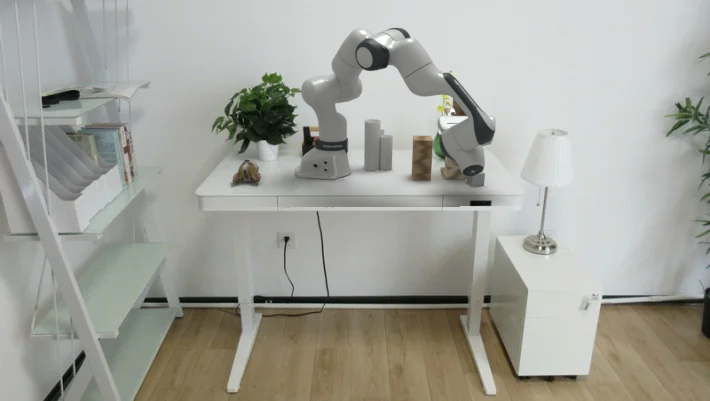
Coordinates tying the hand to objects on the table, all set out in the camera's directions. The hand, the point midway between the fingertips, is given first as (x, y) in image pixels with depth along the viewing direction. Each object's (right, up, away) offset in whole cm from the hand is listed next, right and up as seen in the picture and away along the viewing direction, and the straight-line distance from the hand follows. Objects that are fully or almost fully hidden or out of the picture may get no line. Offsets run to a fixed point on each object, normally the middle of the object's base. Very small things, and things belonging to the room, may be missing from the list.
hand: (464, 110), depth 200 cm
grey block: (+6, -27, +10) cm, 29 cm away
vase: (-30, -20, +28) cm, 46 cm away
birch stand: (0, -23, +20) cm, 30 cm away
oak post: (-14, -24, +17) cm, 32 cm away
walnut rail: (0, 0, +7) cm, 7 cm away
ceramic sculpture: (-81, -25, +14) cm, 86 cm away
